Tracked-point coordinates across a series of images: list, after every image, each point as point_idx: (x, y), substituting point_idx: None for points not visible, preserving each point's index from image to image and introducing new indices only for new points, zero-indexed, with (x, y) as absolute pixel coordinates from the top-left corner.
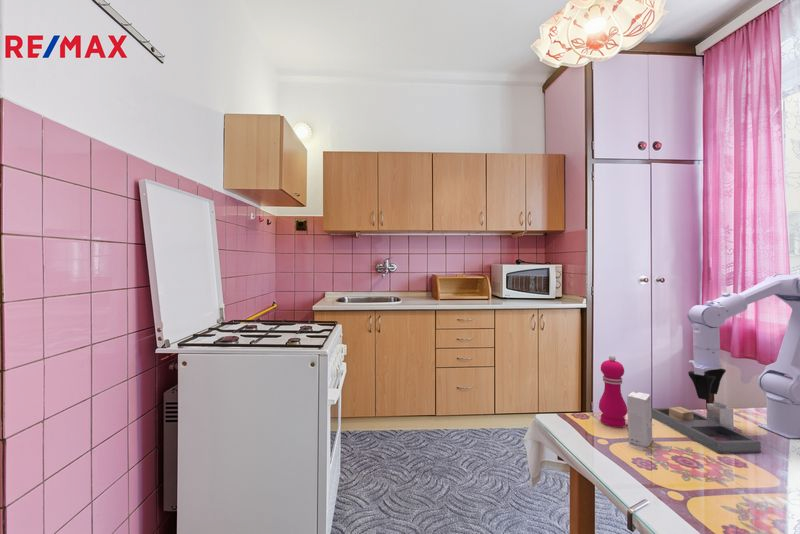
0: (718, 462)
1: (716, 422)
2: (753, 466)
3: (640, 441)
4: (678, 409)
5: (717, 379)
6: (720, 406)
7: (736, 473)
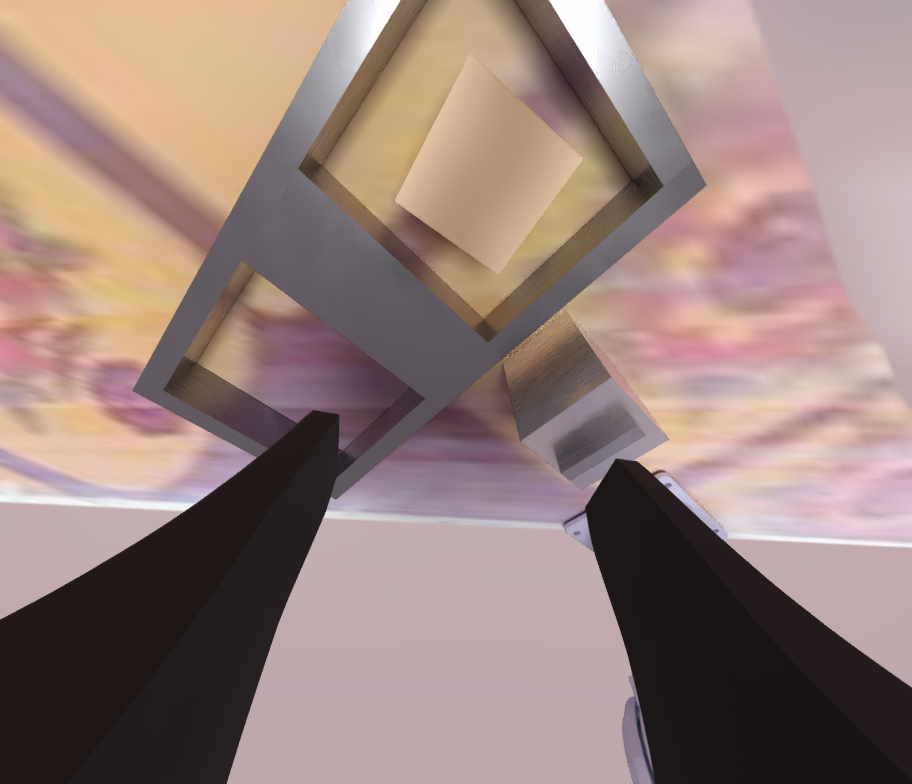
0: (66, 366)
1: (469, 378)
2: (177, 449)
3: None
4: (479, 159)
5: (654, 702)
6: (580, 445)
7: (41, 412)
